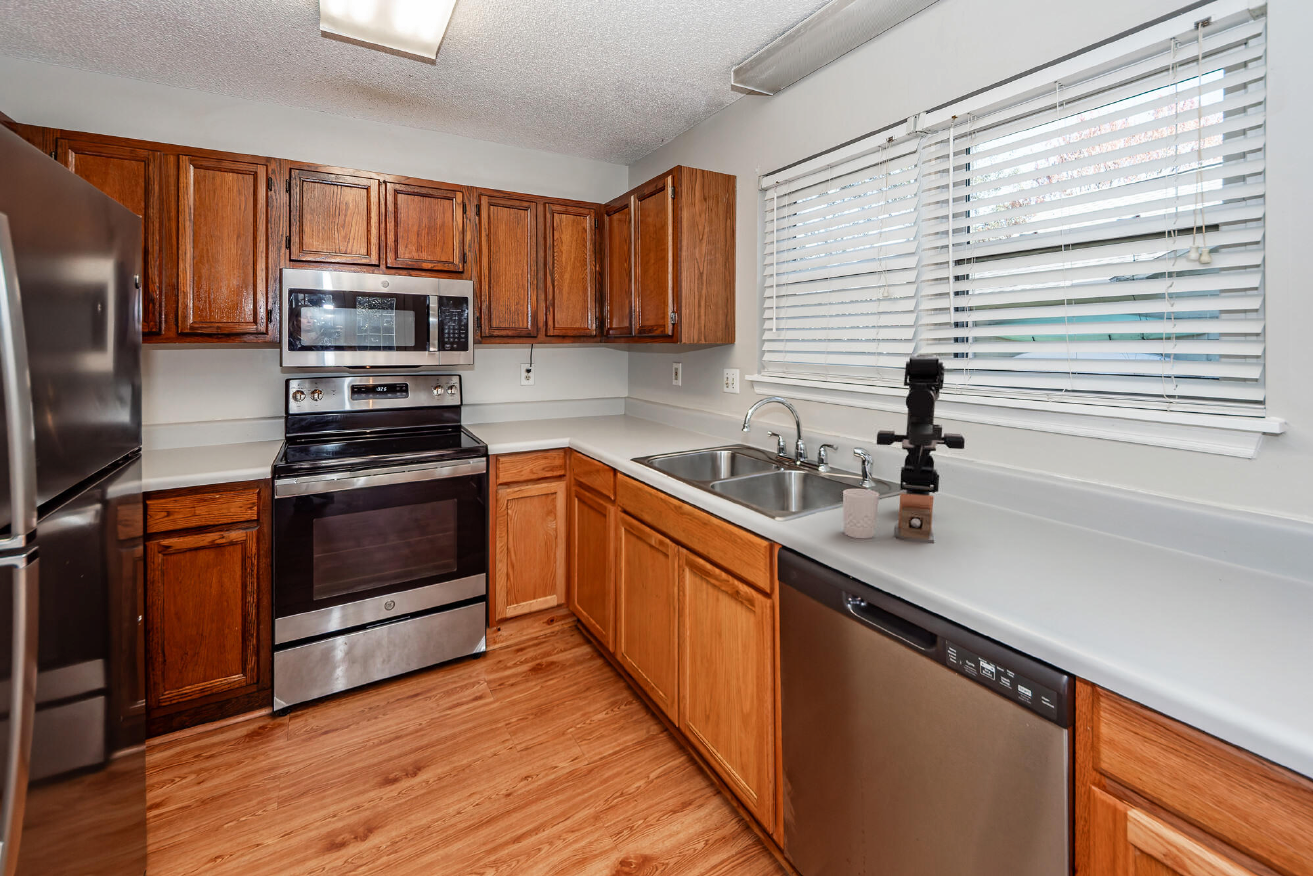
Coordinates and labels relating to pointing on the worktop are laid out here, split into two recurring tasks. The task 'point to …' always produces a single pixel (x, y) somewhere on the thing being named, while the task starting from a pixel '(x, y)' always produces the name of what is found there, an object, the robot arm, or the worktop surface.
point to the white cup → (860, 512)
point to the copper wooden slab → (915, 506)
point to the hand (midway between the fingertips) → (916, 474)
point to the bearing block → (915, 532)
